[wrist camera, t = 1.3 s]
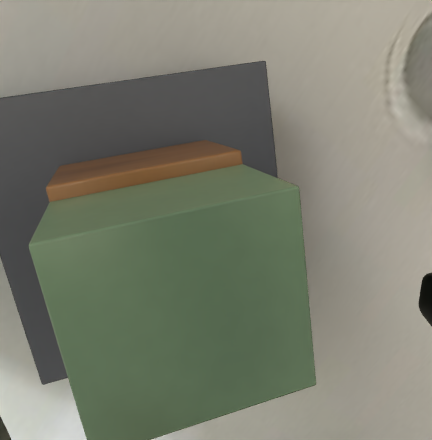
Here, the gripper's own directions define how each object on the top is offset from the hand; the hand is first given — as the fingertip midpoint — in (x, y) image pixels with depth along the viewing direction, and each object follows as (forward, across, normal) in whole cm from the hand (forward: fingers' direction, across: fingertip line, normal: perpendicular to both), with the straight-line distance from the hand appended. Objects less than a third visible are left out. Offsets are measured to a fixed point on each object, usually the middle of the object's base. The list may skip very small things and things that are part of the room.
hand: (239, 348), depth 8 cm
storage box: (+14, 0, +3) cm, 14 cm away
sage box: (+6, 0, +1) cm, 6 cm away
